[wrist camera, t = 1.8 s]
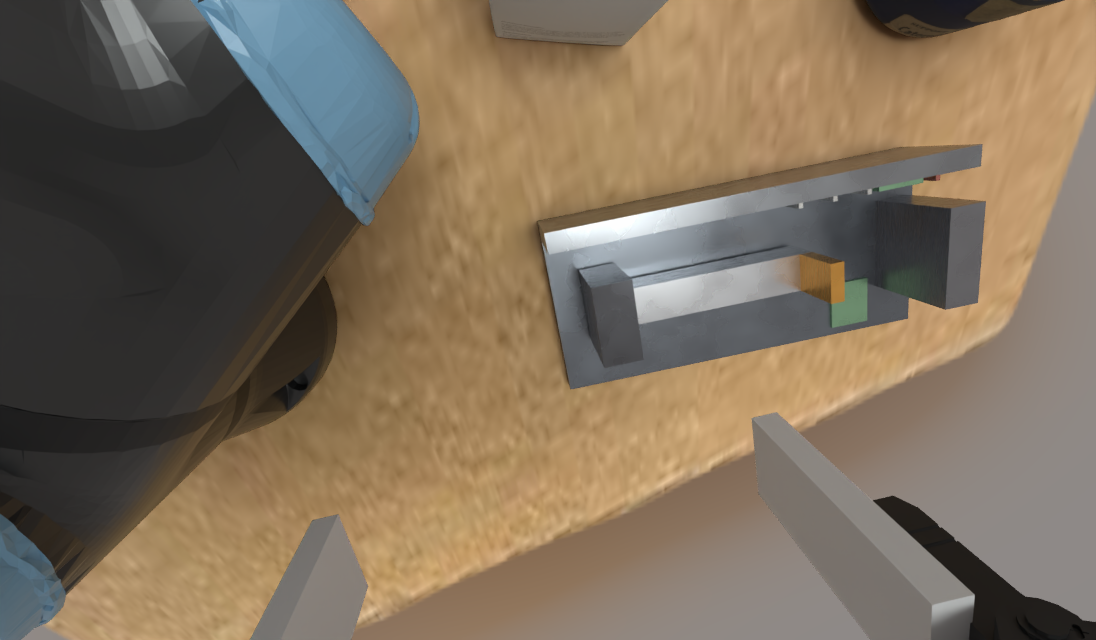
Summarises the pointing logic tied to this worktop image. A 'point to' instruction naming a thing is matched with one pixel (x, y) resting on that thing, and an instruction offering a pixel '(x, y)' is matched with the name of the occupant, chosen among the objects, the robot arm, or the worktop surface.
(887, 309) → the rail
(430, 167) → the worktop surface
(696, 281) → the capped sliding bar
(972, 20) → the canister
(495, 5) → the skincare box
